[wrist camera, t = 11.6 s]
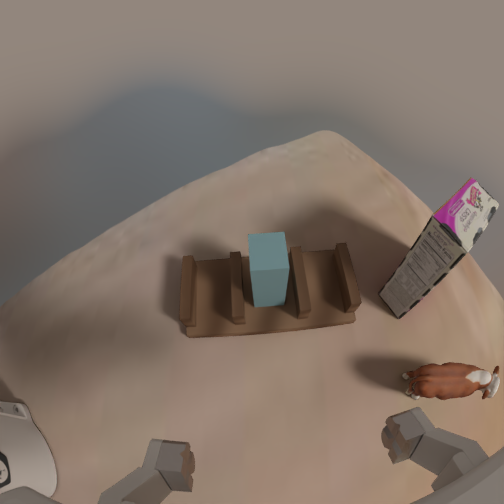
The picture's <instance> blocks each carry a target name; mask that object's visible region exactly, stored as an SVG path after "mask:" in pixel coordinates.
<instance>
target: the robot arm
mask: <svg viewBox="0 0 504 504" xmlns="http://www.w3.org/2000/svg"><path fill="white" fill-rule="evenodd" d="M385 423H386V424H387V425H386V426H385V427H384V428H383V430H382V433H381V439H382V443H383V445H384V447H385V448H387V449H389V453H388V455H389V457H390V459H391V461H392V463H393V464H396V463H398V462H401V461H404V460H407V459H409V458H410V460H412V461H414V462H415V463H417V464H419V465H420V466H422V467H424V468H425V469H427V470H429V471H431V472H432V473H434V474H436V475H438V477H437V478H436V479H435V480H434V482H433V483H432V485H431V486H432V488H433V490H434V492H433V493H431V494H429V495H427V496H425V497H423V498H421V499H419V500H417V501H415V502H412V503H410V504H504V447H502V448H501V449H500V450H499V451H497V452H496V453H495V454H493V455H492V456H491V457H488V456H487V454H486V453H485V452H484V451H483V449H482V448H481V447H480V445H479V444H478V443H477V442H476V441H474V440H471V439H468V438H465V437H462V436H459V435H456V434H454V433H451V432H448V431H446V430H443V429H440V428H435V427H434V426H433V424H432V423H431V422H430V420H429V419H428V418H427V416H426V415H425V414H424V412H423V411H422V410H421V408H419V407H416V408H413V409H410V410H407V411H404V412H401V413H398V414H395V415H392V416H389V417H388V418H387V419H386V422H385ZM194 471H195V458H194V454H193V452H191V451H190V444H189V442H179V441H169V440H160V439H152V440H151V441H150V443H149V446H148V449H147V453H146V456H145V459H144V462H143V466H142V468H141V467H138V468H137V469H136V470H134V471H133V472H132V473H130V474H129V475H127V476H126V477H125V478H123V479H122V480H120V481H119V482H118V483H116V484H115V485H113V486H112V487H110V488H109V489H107V490H106V491H104V492H103V493H101V496H100V499H99V501H98V504H160V503H161V502H162V501H163V500H164V499H165V498H166V497H167V496H168V495H169V494H170V493H171V492H172V491H184V492H192V486H193V478H192V476H191V474H192V473H194ZM56 484H57V474H56V468H55V463H54V460H53V457H52V454H51V451H50V449H49V447H48V445H47V443H46V441H45V439H44V437H43V436H42V434H41V433H40V431H39V430H38V429H37V427H36V426H35V424H34V423H33V421H32V418H31V415H30V413H29V410H28V408H27V406H26V405H25V404H22V403H11V402H2V401H0V504H62V503H59V502H57V501H55V500H53V499H51V498H49V497H50V496H52V495H53V493H54V491H55V489H56ZM171 490H172V491H171Z"/></svg>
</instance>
